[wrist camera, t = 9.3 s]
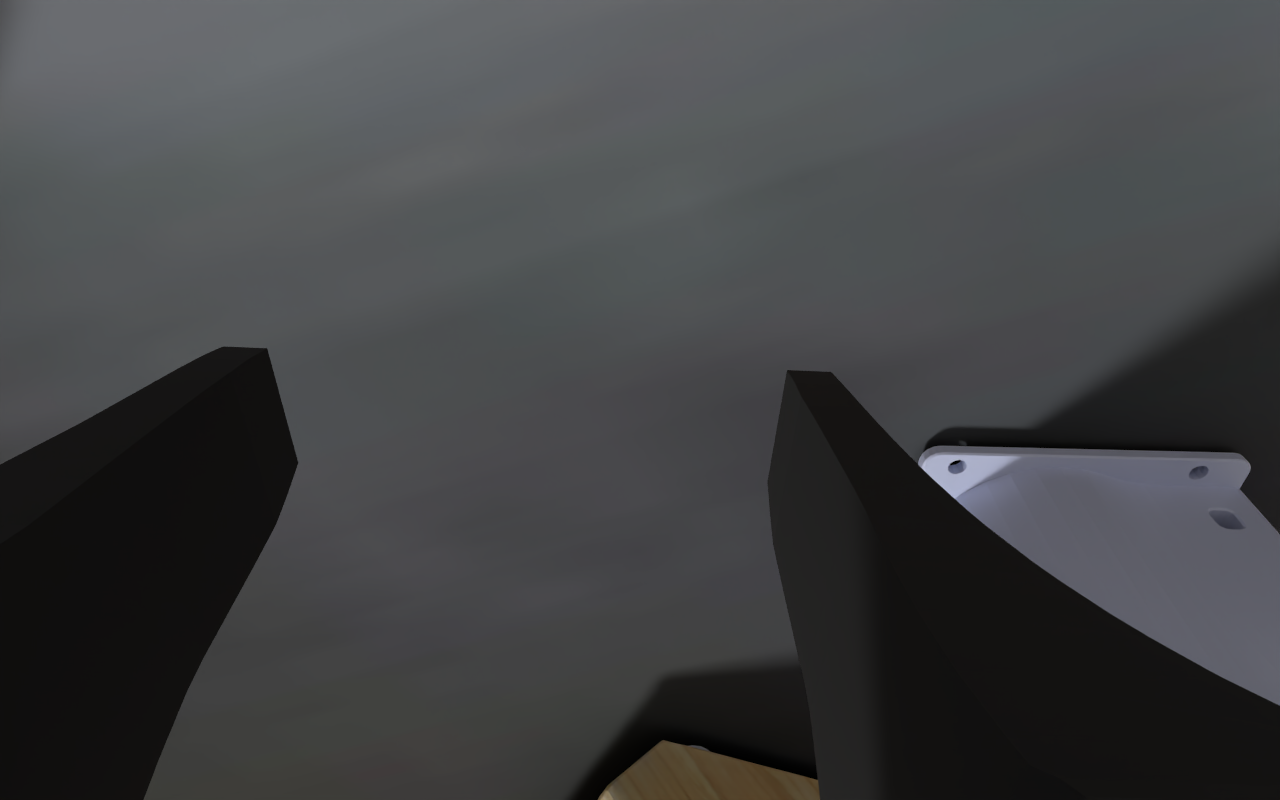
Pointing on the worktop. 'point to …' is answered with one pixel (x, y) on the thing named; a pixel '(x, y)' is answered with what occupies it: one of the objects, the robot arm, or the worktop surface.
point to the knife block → (705, 778)
